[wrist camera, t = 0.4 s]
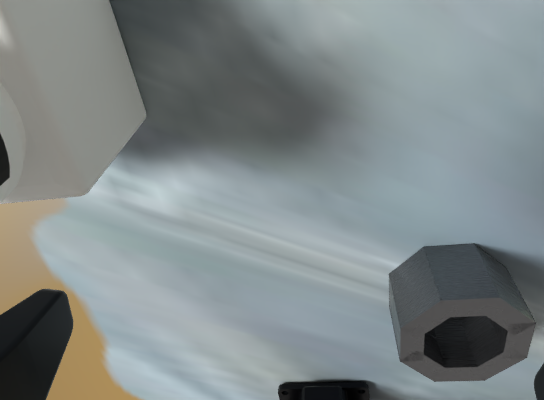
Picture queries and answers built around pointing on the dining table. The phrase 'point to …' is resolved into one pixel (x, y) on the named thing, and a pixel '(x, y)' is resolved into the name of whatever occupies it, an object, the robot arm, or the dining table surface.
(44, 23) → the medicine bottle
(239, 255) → the dining table surface
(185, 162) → the dining table surface
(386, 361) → the dining table surface
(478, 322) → the hub ring
